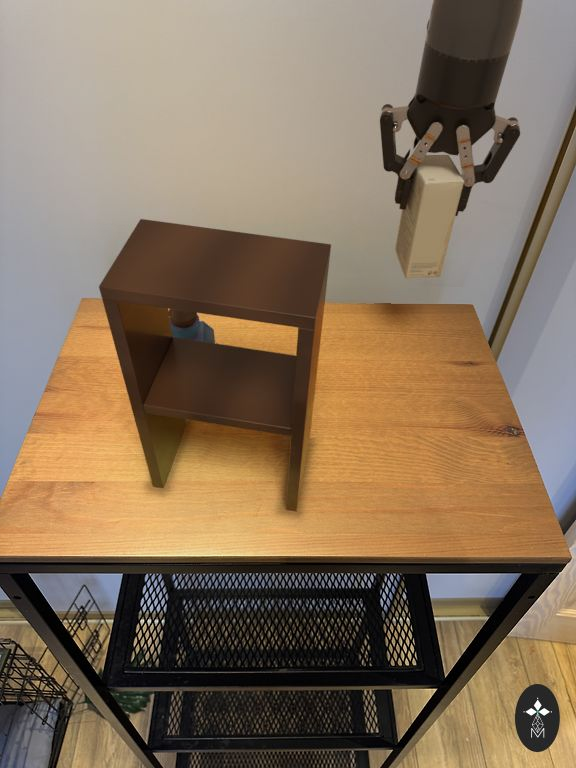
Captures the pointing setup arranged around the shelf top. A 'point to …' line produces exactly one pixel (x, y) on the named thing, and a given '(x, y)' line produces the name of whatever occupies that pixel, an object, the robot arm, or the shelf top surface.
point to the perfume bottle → (190, 326)
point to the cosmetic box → (428, 217)
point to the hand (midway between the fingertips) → (428, 208)
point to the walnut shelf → (210, 360)
